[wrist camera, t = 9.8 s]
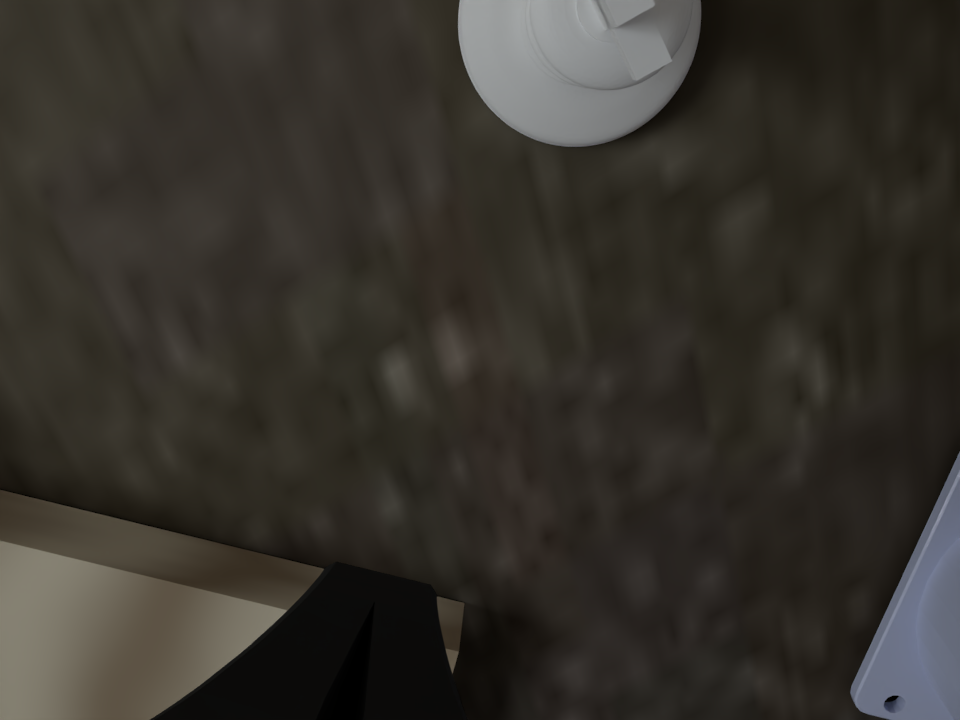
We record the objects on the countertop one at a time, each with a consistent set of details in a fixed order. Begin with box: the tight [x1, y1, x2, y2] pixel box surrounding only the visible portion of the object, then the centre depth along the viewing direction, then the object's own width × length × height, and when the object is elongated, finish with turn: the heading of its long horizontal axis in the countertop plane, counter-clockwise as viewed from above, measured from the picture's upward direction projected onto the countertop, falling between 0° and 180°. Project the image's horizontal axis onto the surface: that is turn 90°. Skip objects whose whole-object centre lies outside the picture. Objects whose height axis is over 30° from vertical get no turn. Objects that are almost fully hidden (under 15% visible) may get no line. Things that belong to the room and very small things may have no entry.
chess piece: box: [458, 0, 701, 147], centre depth 14 cm, size 5×5×10 cm
